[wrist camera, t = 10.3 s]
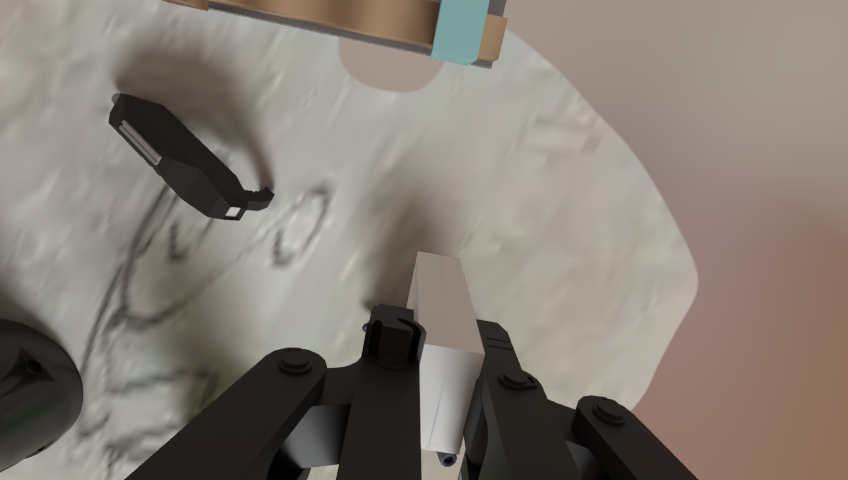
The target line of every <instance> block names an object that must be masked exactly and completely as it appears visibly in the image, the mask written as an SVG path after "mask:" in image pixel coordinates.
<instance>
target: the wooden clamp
mask: <svg viewBox="0 0 848 480" xmlns="http://www.w3.org/2000/svg"><path fill="white" fill-rule="evenodd" d="M163 1H165V2H168V3H173V4H178V5H182V6H187V7H192V8H196V9H201V10H206V11H208V4H209V1H211V2H216V3H221V4H225V5H230V6H235V7H239V8H244V9H249V10H253V11H258V12H263V13H267V14H272V15H277V16H281V17H286V18H291V19H295V20H300V21H305V22H309V23H314V24H319V25H323V26H328V27H333V28H337V29H342V30H347V31H351V32H356V33H361V34H365V35H370V36H375V37H379V38H384V39H389V40H393V41H398V42H403V43H407V44H412V45H417V46H421V47H426V48H430V49H432V44H433V39H434V34H435V29H436V23H437V18H438V13H439V7H440V3H436V2H432V1H427V0H163ZM506 23H507V18H504V17H500V16H495V15H491V14H487V15H486V20H485V25H484V29H483V34H482V39H481V43H480V48H479V53H478V57H477V59H482V60H486V61H491V62H493V61H495V60H497V59H498V58H499V54H500V49H501V45H502V41H503V36H504V32H505V27H506Z"/></svg>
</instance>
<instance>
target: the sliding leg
mask: <svg viewBox="0 0 848 480" xmlns="http://www.w3.org/2000/svg"><path fill="white" fill-rule="evenodd" d="M489 2H490V0H441V2H440V7H439V13H438V18H437V23H436V29H435V34H434V39H433V44H432V50H431V55H430V58H434V59H438V60H442V61H447V62H452V63H457V64H461V65H466V66H468V65H470V64H471V63H473V62H474V61H476V60H477V57H478V53H479V48H480V43H481V39H482V34H483V29H484V25H485V20H486V15H487V11H488V6H489Z"/></svg>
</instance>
